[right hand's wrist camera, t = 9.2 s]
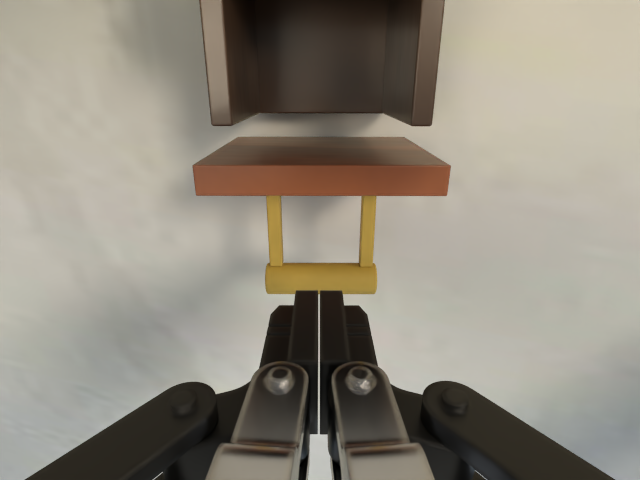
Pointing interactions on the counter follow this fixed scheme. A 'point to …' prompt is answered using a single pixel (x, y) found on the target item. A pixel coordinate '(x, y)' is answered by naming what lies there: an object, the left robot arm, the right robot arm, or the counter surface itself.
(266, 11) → the drawer
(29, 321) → the counter surface
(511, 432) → the right robot arm
